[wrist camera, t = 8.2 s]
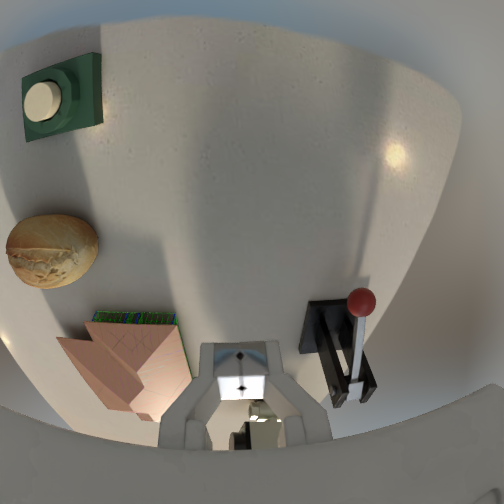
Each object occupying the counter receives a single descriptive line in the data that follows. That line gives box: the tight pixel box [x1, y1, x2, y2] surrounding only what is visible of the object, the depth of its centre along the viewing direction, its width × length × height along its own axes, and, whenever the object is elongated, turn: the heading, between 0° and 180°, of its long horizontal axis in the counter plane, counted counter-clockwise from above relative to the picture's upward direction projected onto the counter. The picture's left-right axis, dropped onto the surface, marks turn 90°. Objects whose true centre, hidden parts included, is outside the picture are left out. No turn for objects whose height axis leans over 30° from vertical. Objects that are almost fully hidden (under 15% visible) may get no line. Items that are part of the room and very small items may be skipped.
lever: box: [345, 288, 376, 401], centre depth 32 cm, size 15×4×4 cm, turn 178°
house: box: [56, 311, 193, 422], centre depth 43 cm, size 23×33×8 cm
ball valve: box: [229, 401, 282, 450], centre depth 49 cm, size 18×8×18 cm, turn 77°
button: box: [24, 82, 61, 122], centre depth 18 cm, size 4×4×2 cm
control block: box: [22, 52, 103, 142], centre depth 20 cm, size 10×8×4 cm
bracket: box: [299, 299, 377, 408], centre depth 37 cm, size 11×9×14 cm
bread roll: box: [6, 214, 98, 289], centre depth 27 cm, size 10×15×8 cm, turn 93°
